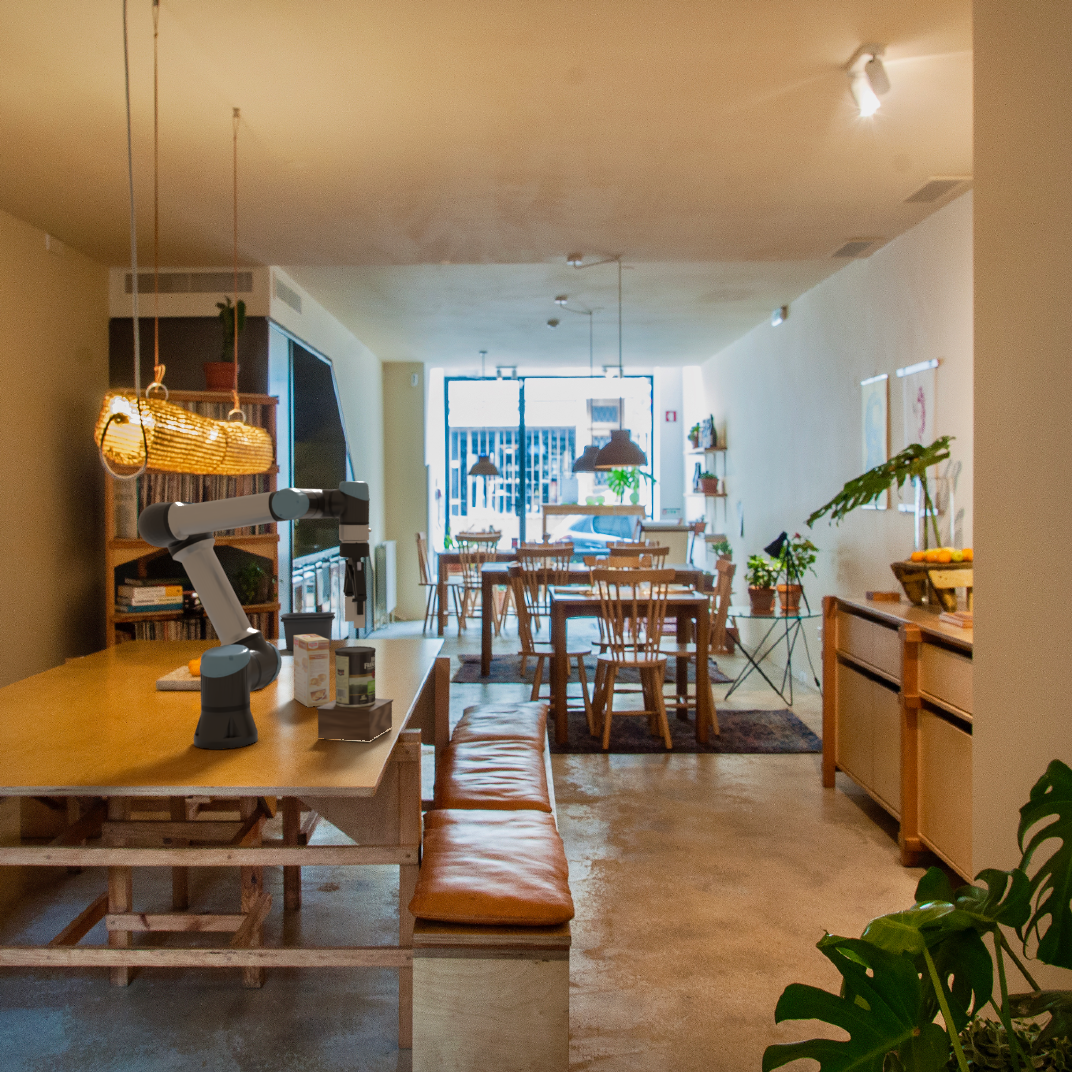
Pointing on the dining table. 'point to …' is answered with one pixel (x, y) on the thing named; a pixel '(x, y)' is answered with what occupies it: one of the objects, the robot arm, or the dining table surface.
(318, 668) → the coffeecake box
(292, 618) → the storage bin
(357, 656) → the coffee can
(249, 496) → the robot arm
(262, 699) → the dining table surface
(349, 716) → the walnut box
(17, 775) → the dining table surface
